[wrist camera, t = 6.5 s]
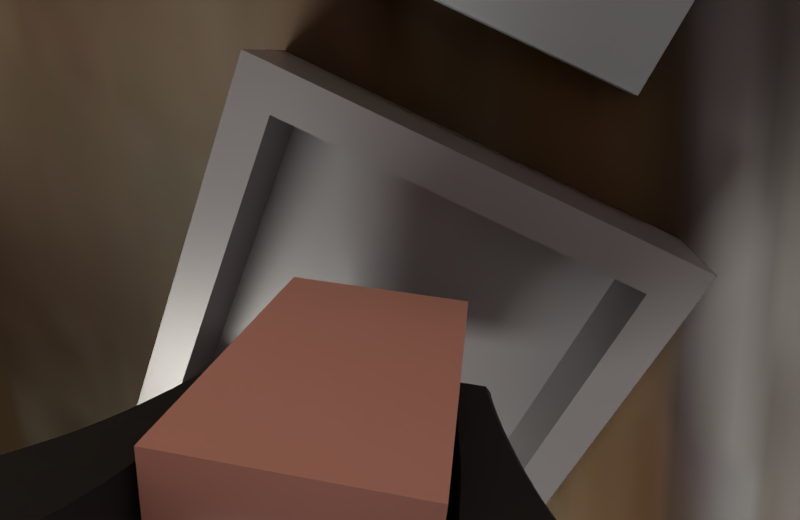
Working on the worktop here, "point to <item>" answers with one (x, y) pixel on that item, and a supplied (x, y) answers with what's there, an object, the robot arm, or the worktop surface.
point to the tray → (425, 252)
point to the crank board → (588, 32)
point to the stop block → (316, 414)
